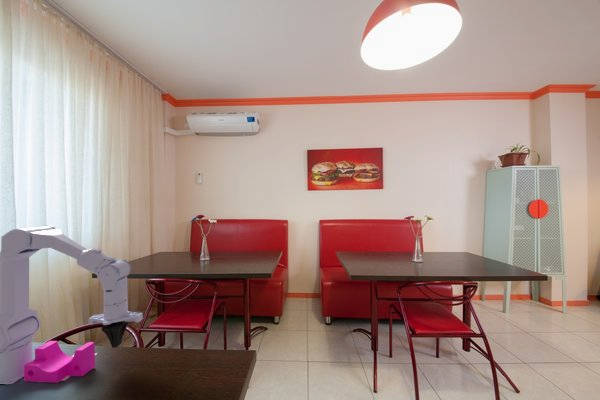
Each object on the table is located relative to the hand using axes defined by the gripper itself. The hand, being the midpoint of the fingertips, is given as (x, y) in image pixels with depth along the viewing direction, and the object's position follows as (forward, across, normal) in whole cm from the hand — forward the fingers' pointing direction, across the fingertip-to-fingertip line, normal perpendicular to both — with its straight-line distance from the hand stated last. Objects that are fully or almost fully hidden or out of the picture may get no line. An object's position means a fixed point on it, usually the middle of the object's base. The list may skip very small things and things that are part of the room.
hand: (116, 345), depth 69 cm
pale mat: (+6, -15, +1) cm, 16 cm away
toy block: (+6, -14, -2) cm, 16 cm away
